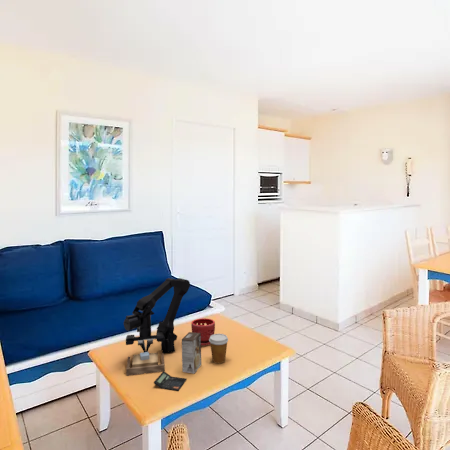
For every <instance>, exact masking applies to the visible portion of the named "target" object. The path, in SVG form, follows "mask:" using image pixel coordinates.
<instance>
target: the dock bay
mask: <svg viewBox="0 0 450 450" xmlns="http://www.w3.org/2000/svg"><path fill="white" fill-rule="evenodd" d="M160 355H161V359H160V360H161V364H158V365H151V366H142V367H133V368H132V367H131V365H132V362H131V361H132V360H131V356H127V363H126V367H125V368H126V369H125V370H126V374H125V375H126V377H127V376H134V375H135V376H136V375H145V374H144V373H146V374H152V373H154V374H155V373H162V372H163V371H164V372H166V367H165V364H166V363H165V353H162V352H161V354H160Z"/></svg>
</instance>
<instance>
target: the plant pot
mask: <svg viewBox="0 0 450 450" xmlns="http://www.w3.org/2000/svg"><path fill="white" fill-rule="evenodd" d="M190 325H191V332H194V333H201V347H204V346H205V347H206V346H209V345H210V341H209V339H210V336H211V335H213V334H215V331H216V322H215V320H214V319H211V318H206V317H205V318H204V317H203V318H197V319H194V320H192V321H191V323H190Z"/></svg>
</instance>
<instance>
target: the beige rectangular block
mask: <svg viewBox="0 0 450 450" xmlns="http://www.w3.org/2000/svg"><path fill="white" fill-rule="evenodd" d="M149 358H150V359H147V360H141V358H140V353H138V354H132V360H131V361H132V362H131V368H133V367H142V366H151V365H159V352H151V353H150V352H149Z"/></svg>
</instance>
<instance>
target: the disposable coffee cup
mask: <svg viewBox="0 0 450 450" xmlns="http://www.w3.org/2000/svg"><path fill="white" fill-rule="evenodd" d="M209 341H210V344H209V345H210V351H211V357H212V362H213V363H214V364H215V363H216V364H223V363H225V362H226V356H227V347H228V342H229V338H228V336H227V334H224V333H214V334H213V335H211V336H210V339H209Z"/></svg>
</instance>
